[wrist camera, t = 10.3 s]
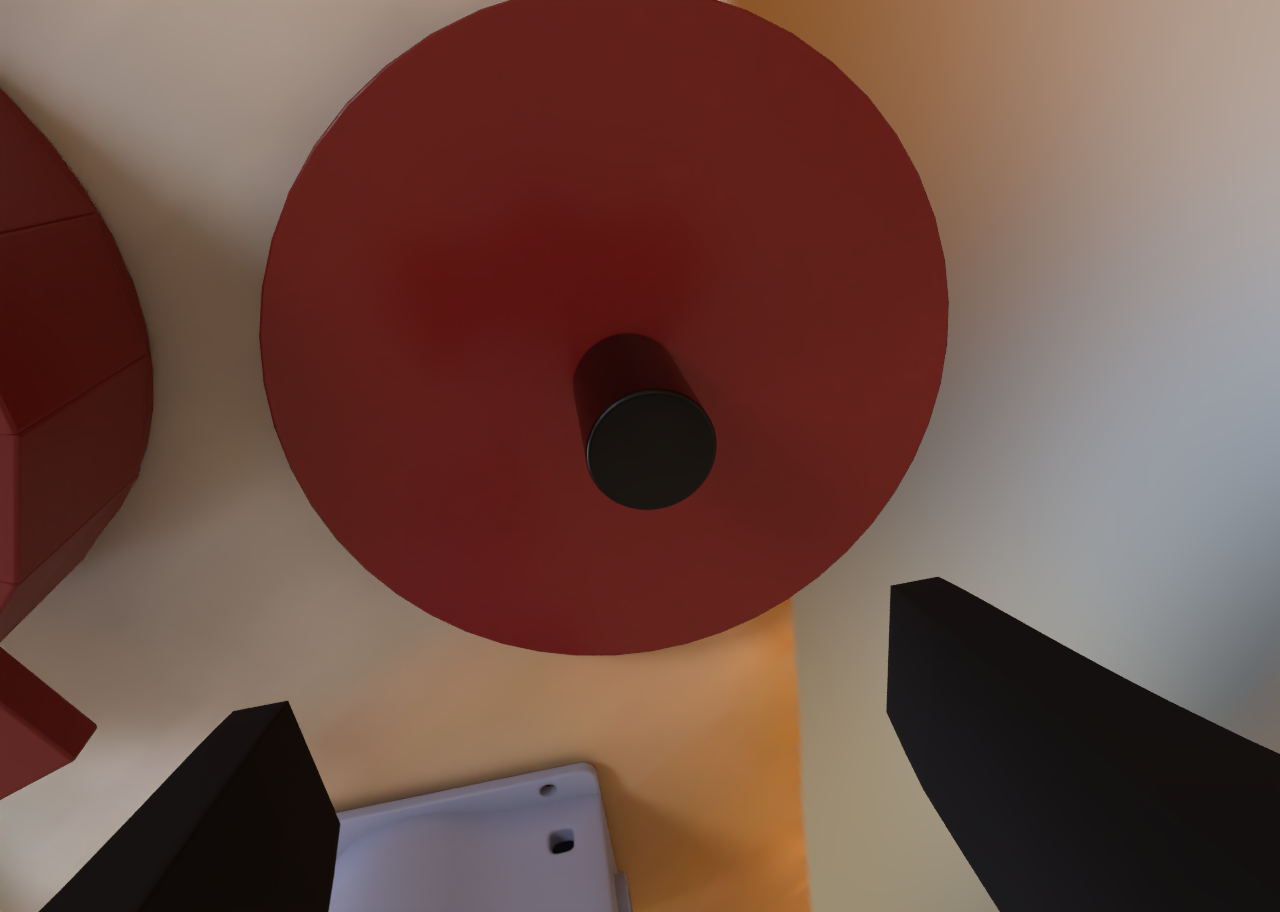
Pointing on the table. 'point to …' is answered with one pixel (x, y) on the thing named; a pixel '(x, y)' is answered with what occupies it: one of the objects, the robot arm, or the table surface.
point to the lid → (603, 321)
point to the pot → (57, 417)
